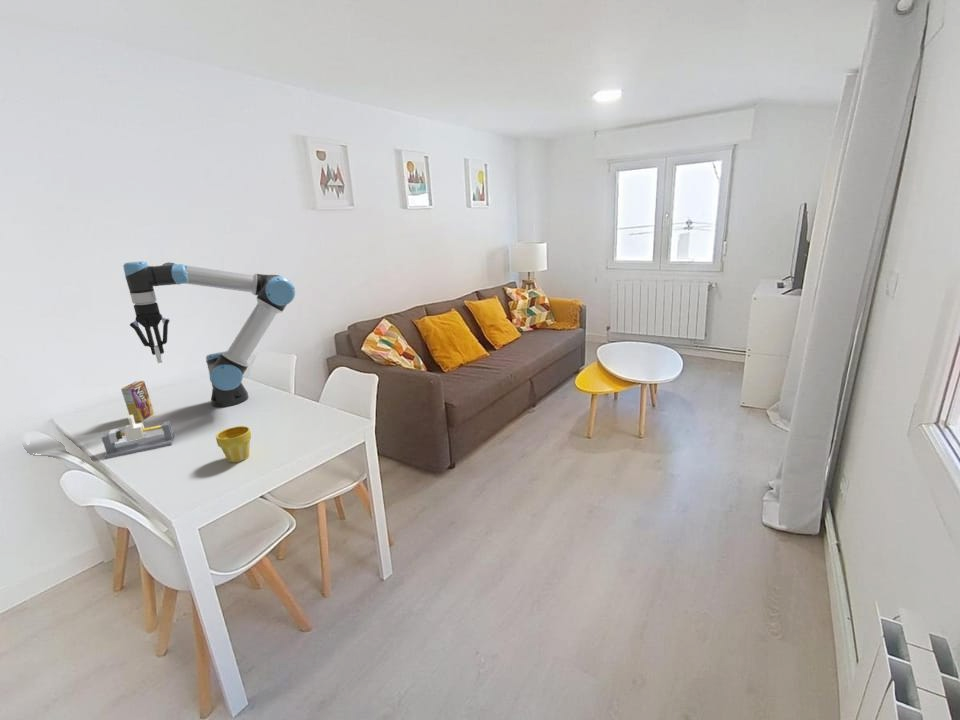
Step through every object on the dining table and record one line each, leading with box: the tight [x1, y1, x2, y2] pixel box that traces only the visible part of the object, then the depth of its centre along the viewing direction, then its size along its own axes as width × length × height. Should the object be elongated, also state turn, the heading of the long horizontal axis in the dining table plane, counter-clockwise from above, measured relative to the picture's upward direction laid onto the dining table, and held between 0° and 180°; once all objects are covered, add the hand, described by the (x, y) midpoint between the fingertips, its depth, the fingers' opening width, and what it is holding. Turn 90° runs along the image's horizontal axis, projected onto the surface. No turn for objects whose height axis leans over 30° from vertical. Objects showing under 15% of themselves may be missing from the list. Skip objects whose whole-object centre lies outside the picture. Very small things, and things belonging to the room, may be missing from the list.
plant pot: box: [215, 425, 252, 463], centre depth 156 cm, size 10×10×10 cm
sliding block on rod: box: [101, 420, 176, 459], centre depth 168 cm, size 20×10×8 cm, turn 117°
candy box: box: [121, 380, 155, 423], centre depth 193 cm, size 9×4×15 cm, turn 2°
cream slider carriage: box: [123, 415, 147, 442], centre depth 166 cm, size 5×4×8 cm
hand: (160, 361), depth 181 cm, fingers closed
